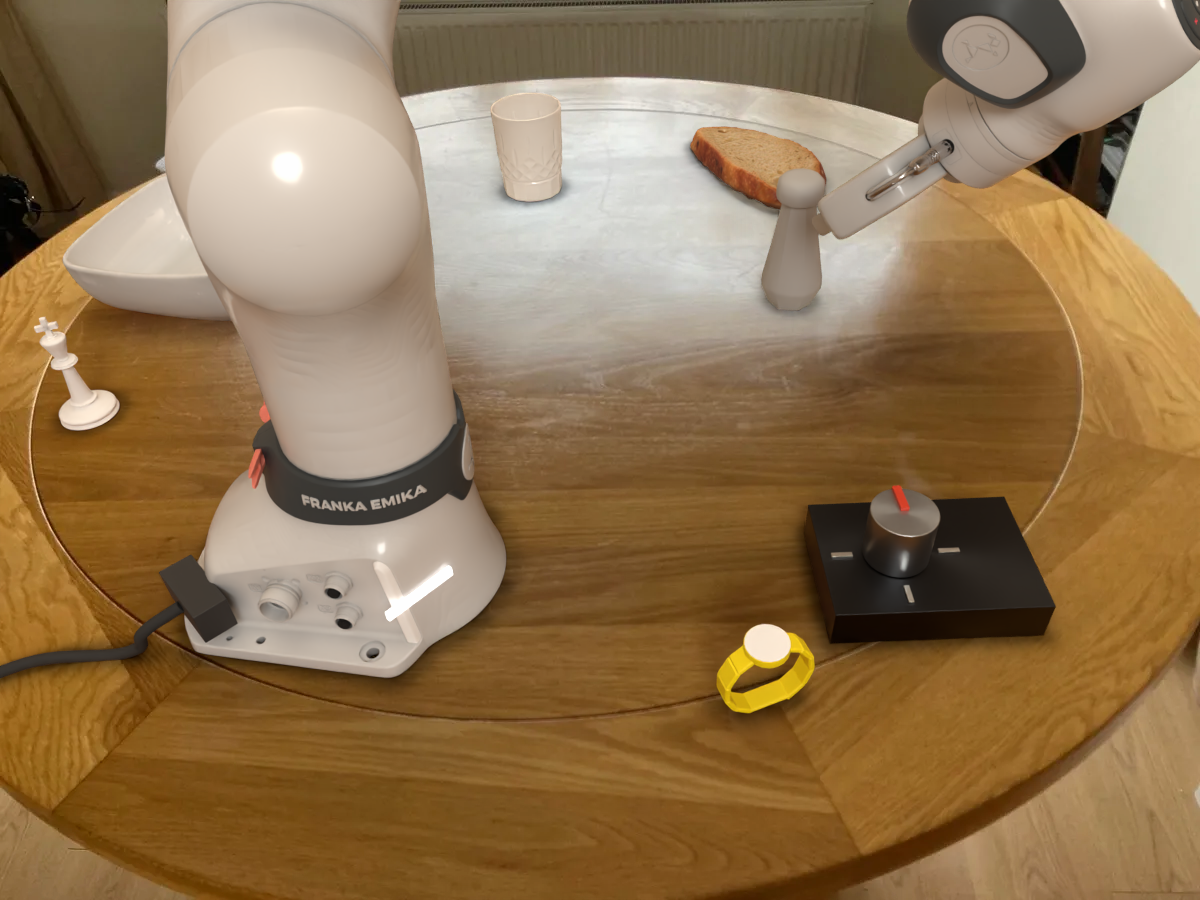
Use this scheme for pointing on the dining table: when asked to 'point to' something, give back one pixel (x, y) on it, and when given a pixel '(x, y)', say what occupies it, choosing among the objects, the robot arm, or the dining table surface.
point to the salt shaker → (795, 242)
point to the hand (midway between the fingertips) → (851, 204)
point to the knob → (900, 532)
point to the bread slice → (751, 160)
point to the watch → (765, 651)
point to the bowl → (144, 259)
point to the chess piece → (76, 385)
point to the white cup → (529, 144)
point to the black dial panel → (929, 577)
